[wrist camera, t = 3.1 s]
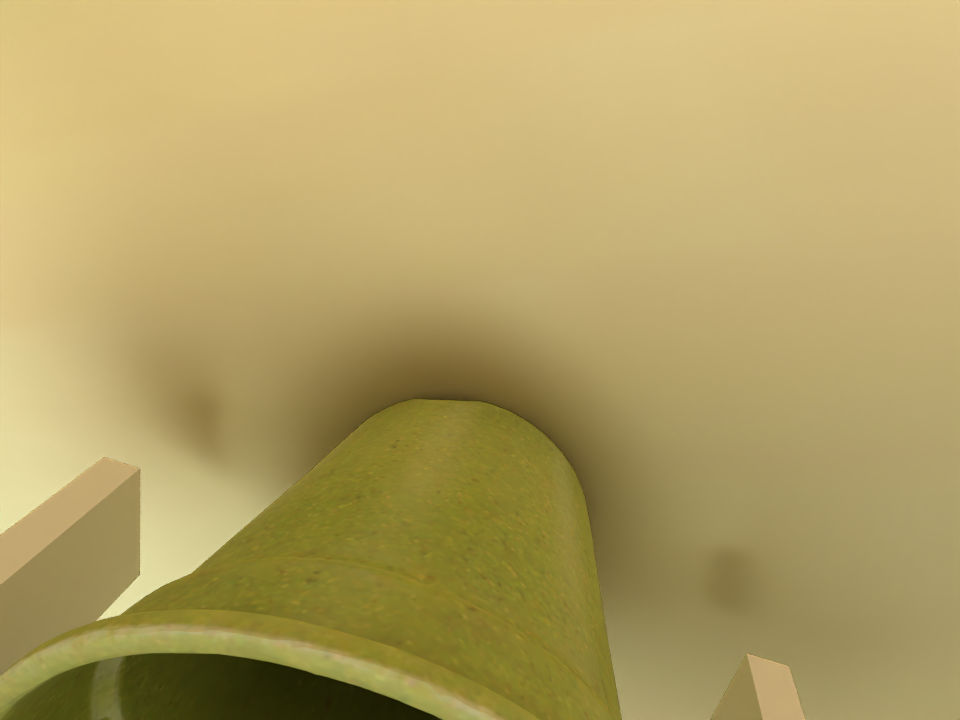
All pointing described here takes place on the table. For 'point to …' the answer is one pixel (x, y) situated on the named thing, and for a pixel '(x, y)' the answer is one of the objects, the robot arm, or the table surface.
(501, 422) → the plant pot
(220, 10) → the table surface
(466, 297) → the table surface
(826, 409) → the table surface
